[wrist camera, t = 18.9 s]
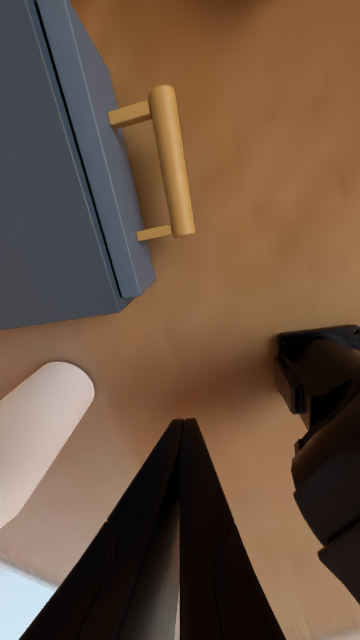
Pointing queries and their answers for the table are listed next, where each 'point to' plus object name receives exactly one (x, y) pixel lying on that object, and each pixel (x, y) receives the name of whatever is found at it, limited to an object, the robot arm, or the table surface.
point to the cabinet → (43, 190)
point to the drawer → (116, 148)
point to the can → (38, 429)
